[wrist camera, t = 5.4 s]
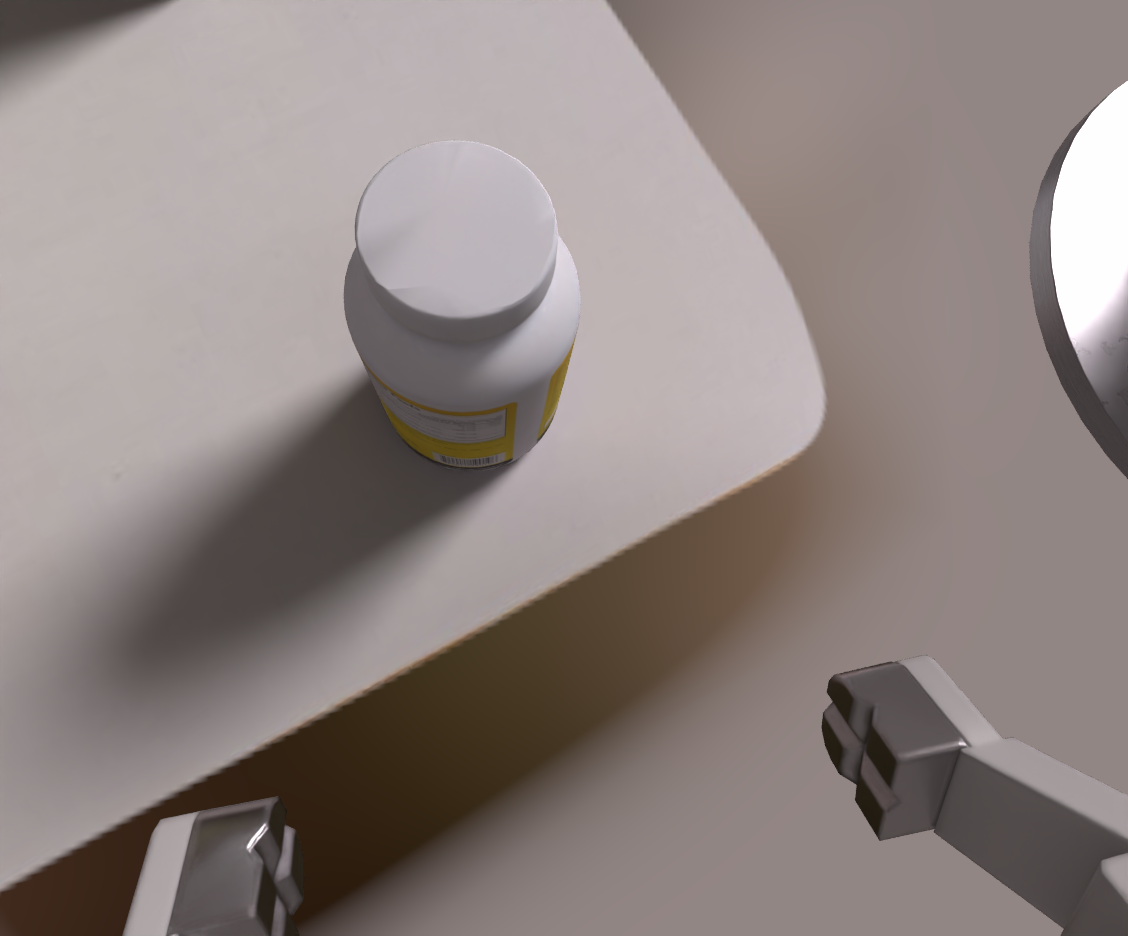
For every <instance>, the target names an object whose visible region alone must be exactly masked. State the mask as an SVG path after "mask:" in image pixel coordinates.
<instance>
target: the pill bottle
mask: <svg viewBox="0 0 1128 936" xmlns="http://www.w3.org/2000/svg"><path fill="white" fill-rule="evenodd" d="M355 240H356V248H355V250H354V252H353V254H352V257H351V259H350V262H349V265H348V269H347V272H346V277H345V285H344V309H345V316H346V321H347V324H348V328H349V331H350V334H351V337H352V340H353V342H354V344H355V346H356V349H357V351H358V353H359V355H360V357H361V360H362V362H363V364H364V366H365V368H366V370H367V372H368V375H369V377H370V379H371V381H372V383H373V385H374V388H375V390H376V392H377V394H378V396H379V398H380V400H381V402H382V404H383V406H384V408H385V411H386V413H387V415H388V417H389V419H390V421H391V423H392V425H393V426H394V428H395V430H396V431H397V433H398V434H399V436H400V437H401V438H402V439H403V441H404V442H405V443H406V444H407V445H408V446H409V447H410V448H411V449H412V450H414V451H415V452H416V453H417V454H419V455H420V456H422V457H423V458H425V459H427V460H428V461H430V462H432V463H435V464H437V465H440V466H442V467H445V468H449V469H453V470H460V471H483V470H490V469H494V468H498V467H501V466H504V465H506V464H509V463H511V462H513V461H515V460H516V459H518V458H520V457H521V456H523V455H524V454H526V453H527V452H528V451H530V450H531V449H532V448H533V447H534V446H535V445H536V444H537V443H538V442H539V440H540V439H541V438H542V437H543V435H544V434H545V432H546V431H547V429H548V428H549V426H550V424H551V422H552V420H553V417H554V415H555V412H556V409H557V405H558V402H559V398H560V394H561V391H562V387H563V384H564V380H565V376H566V373H567V369H568V365H569V361H570V357H571V353H572V349H573V345H574V341H575V337H576V333H577V329H578V324H579V318H580V308H581V294H580V285H579V278H578V274H577V270H576V267H575V264H574V261H573V259H572V257H571V254H570V252H569V251H568V249H567V247H566V245H565V243H564V242H563V240H562V239H561V237H560V236H559V235H558V226H557V219H556V215H555V211H554V207H553V204H552V202H551V199H550V197H549V195H548V193H547V191H546V189H545V188H544V186H543V185H542V184H541V182H540V181H539V180H538V178H537V177H536V176H535V175H534V174H533V172H532V171H531V170H530V169H528V168H527V167H526V166H525V165H524V164H523V163H521V162H520V161H519V160H518V159H515V158H514V157H513V156H511V155H509V154H507V153H505V152H503V151H501V150H499V149H497V148H494V147H492V146H489V145H485V144H481V143H477V142H472V141H460V140H448V141H437V142H432V143H428V144H424V145H420V146H417V147H415V148H412V149H410V150H408V151H406V152H404V153H402V154H400V155H398V156H397V157H395V158H394V159H392V160H391V161H389V162H388V163H387V164H386V165H385V166H383V167H382V168H381V169H380V171H379V172H378V173H377V174H376V175H375V176H374V177H373V179H372V180H371V181H370V183H369V184H368V186H367V187H366V189H365V191H364V193H363V195H362V197H361V199H360V202H359V205H358V209H357V214H356V220H355Z"/></svg>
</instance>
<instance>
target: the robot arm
mask: <svg viewBox="0 0 1128 936" xmlns="http://www.w3.org/2000/svg"><path fill="white" fill-rule="evenodd" d="M827 693H828V695H829V696H830V698H831V699H832V701H833V702H832V703H831V704H830V706H829V707H828V708H827V709H826V710H825V711H824V713H823V720H822V732H823V737H824V743H825V746H826V749H827V751H828V754H829V756H830V758H831V760H832V762H833V764H834V765H835V767H836V769H837V771H838V773H839V774H840V775H842V776H843V777H845V778H847V779H848V780H850V781H852V782H853V783H855V784H856V785H857V788H856V797H855V801H856V803H857V804H858V806H859V808H860V809H861V811H862V812H863V814H864V816H865V817H866V819H867V821H868V822H869V824H870V826H871V827H872V829H873V830H874V832H875V834H876V835H877V837H878V839H879V840H880V841H881V840H885V839H890V838H895V837H899V836H904V835H909V834H913V833H918V832H922V831H927V830H931V829H935V830H934V833H936V834H937V835H938V836H940V837H941V838H942V839H944V840H945V841H947V842H948V843H949V844H950V845H952V846H953V847H955V848H956V849H957V850H958V851H960V852H961V853H963V854H964V855H965V856H967V857H968V858H969V859H971V860H972V861H973V862H975V863H976V864H977V865H979V866H980V867H982V868H983V869H984V870H985V871H987V872H988V873H990V874H991V875H992V876H994V877H995V878H996V879H998V880H999V881H1000V882H1002V883H1003V884H1005V885H1006V886H1007V887H1008V888H1010V889H1011V890H1012V891H1014V892H1015V893H1017V894H1018V895H1019V896H1021V897H1022V898H1023V899H1025V900H1026V901H1027V902H1029V903H1030V904H1032V905H1033V906H1034V907H1036V908H1037V909H1038V910H1040V911H1041V912H1043V913H1044V914H1045V915H1046V916H1048V917H1049V918H1050V919H1052V920H1053V921H1054V922H1056V923H1057V924H1059V925H1060V926H1061V927H1063V928H1064V930H1063V932H1062V934H1061V936H1128V795H1126V794H1124V793H1122V792H1120V791H1118V790H1116V789H1114V788H1112V787H1110V786H1108V785H1106V784H1104V783H1102V782H1100V781H1098V780H1096V779H1094V778H1092V777H1090V776H1088V775H1086V774H1084V773H1082V772H1081V771H1078V770H1077V769H1075V768H1073V767H1071V766H1069V765H1066V764H1065V763H1063V762H1061V761H1059V760H1057V759H1055V758H1053V757H1051V756H1049V755H1047V754H1045V753H1043V752H1041V751H1039V750H1037V749H1035V748H1033V747H1031V746H1029V745H1027V744H1025V743H1023V742H1021V741H1019V740H1017V739H1015V738H1014V737H1011V738H1005V739H1003V738H1002V737H1001V735H1000V734H999V733H998V732H997V731H996V730H995V729H994V728H993V726H992V725H991V724H990V723H989V722H988V720H987V719H986V718H985V717H984V716H983V715H982V714H981V712H980V711H979V710H978V709H977V708H976V707H975V706H974V704H973V703H972V702H971V701H970V700H969V699H968V697H967V696H966V695H965V694H964V693H963V692H962V691H961V689H960V688H959V687H958V686H957V685H956V684H955V683H954V681H953V680H952V679H951V678H950V677H949V675H948V674H947V673H946V672H945V671H944V670H943V669H942V667H941V666H940V665H939V664H938V663H937V662H936V661H935V659H933V658H931V657H929V656H928V655H924V656H918V657H913V658H909V659H904V660H900V661H896V662H887V663H883V664H879V665H874V666H870V667H865V668H861V669H857V670H852V671H849V672H844V673H840V674H835V675H834V676H833V677H832V678H831V679H830V680H829V683H828V689H827ZM286 813H287V810H286V808H285V806H284V804H283V802H282V800H281V798H280V797H279V796H278V797H273V798H268V799H263V800H257V801H252V802H247V803H242V804H237V805H231V806H226V807H221V808H216V809H210V810H205V811H200V812H195V813H190V814H185V815H180V816H176V817H171V818H167V819H161V820H160V822H159V824H158V825H157V827H156V828H155V830H154V831H153V833H152V836H151V839H150V843H149V846H148V849H147V853H146V856H145V860H144V863H143V867H142V870H141V874H140V877H139V881H138V884H137V887H136V891H135V894H134V898H133V901H132V905H131V908H130V912H129V915H128V919H127V922H126V926H125V929H124V932H123V936H299V933H298V930H297V928H296V926H295V924H294V922H293V920H292V918H291V917H292V915H293V914H294V912H295V911H296V909H297V908H298V906H299V905H300V903H301V902H302V901H303V889H304V864H303V854H302V849H301V844H300V840H299V838H298V836H297V833H296V831H295V830H294V829H292V828H290V827H288V826H286V825H285V821H286Z"/></svg>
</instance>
